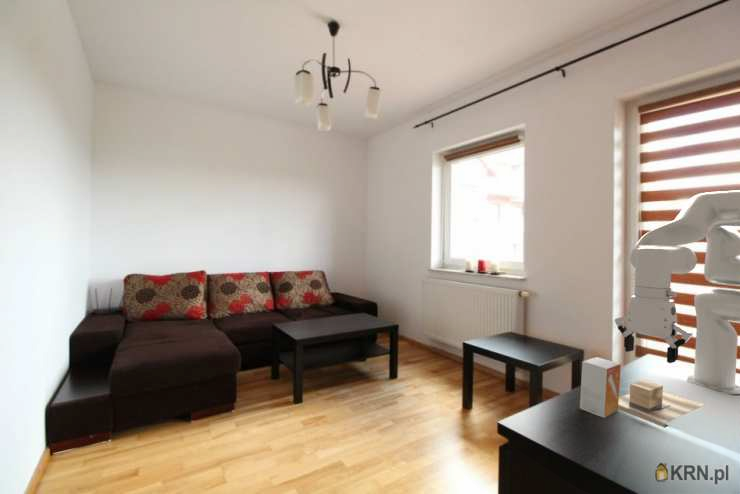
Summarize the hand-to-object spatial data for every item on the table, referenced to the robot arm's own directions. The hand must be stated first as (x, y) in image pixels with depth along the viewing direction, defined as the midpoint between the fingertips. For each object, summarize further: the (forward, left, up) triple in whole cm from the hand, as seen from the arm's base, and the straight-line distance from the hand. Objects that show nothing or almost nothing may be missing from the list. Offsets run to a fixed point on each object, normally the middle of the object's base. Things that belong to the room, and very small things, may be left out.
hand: (649, 356), depth 96 cm
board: (-5, 0, -15) cm, 16 cm away
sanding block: (+1, 0, -14) cm, 14 cm away
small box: (+12, -6, -15) cm, 20 cm away
